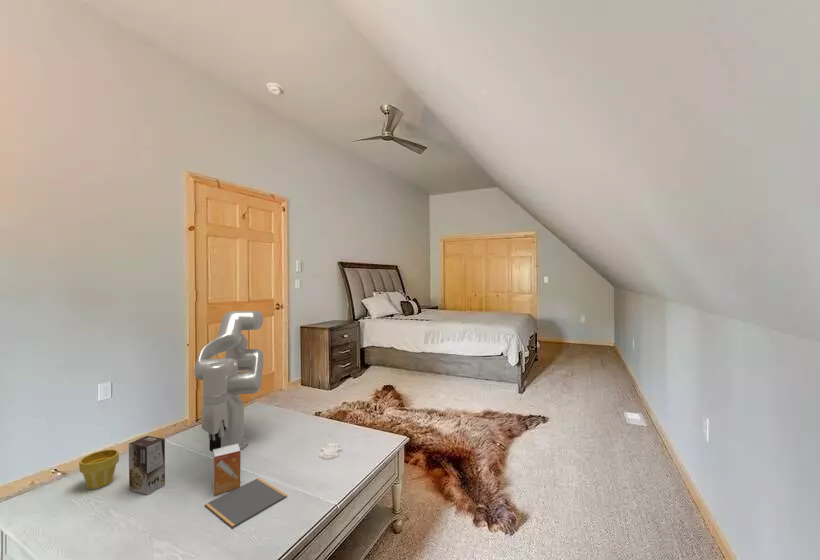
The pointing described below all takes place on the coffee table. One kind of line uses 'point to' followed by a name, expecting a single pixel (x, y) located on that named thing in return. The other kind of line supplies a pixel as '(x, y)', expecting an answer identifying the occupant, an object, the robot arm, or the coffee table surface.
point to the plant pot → (99, 468)
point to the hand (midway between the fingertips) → (215, 449)
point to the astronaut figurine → (330, 451)
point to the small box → (226, 468)
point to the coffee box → (146, 464)
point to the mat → (245, 502)
